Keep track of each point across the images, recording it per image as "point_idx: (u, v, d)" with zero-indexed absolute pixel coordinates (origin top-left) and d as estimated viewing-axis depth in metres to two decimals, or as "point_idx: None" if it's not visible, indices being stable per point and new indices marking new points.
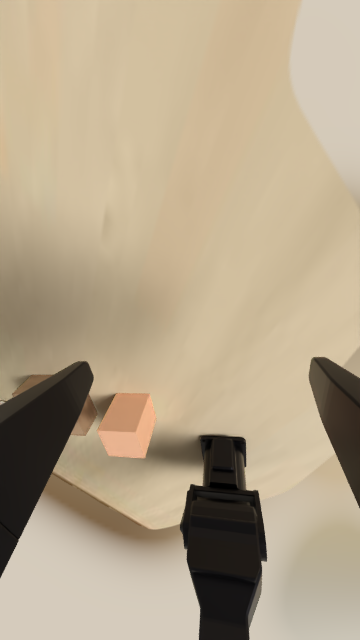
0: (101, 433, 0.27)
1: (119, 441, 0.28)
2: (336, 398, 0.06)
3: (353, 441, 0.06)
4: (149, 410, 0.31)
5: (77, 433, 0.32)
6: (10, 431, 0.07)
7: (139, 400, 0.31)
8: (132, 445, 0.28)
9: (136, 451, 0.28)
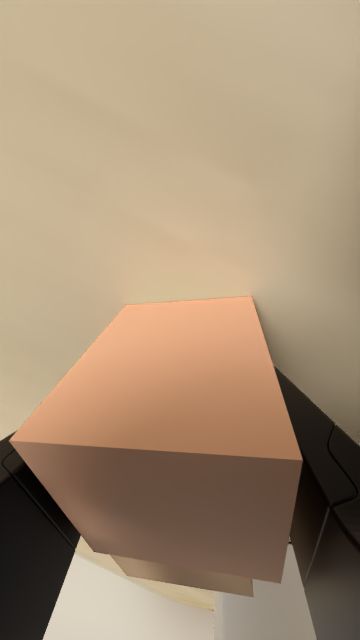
0: (104, 548, 0.06)
1: (138, 520, 0.05)
2: None
3: None
4: (157, 318, 0.08)
5: None
6: None
7: None
8: (147, 484, 0.04)
9: (206, 479, 0.04)
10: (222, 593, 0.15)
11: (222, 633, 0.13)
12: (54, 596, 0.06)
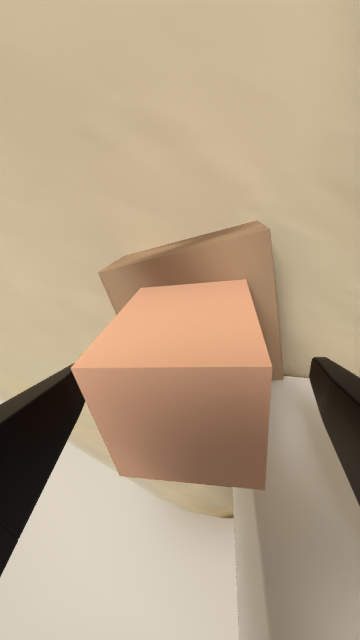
0: (129, 470, 0.08)
1: (158, 436, 0.07)
2: (337, 398, 0.06)
3: (354, 441, 0.06)
4: (169, 296, 0.10)
5: (261, 258, 0.10)
6: (10, 431, 0.07)
7: None
8: (168, 398, 0.06)
9: (209, 390, 0.06)
10: None
11: None
12: None
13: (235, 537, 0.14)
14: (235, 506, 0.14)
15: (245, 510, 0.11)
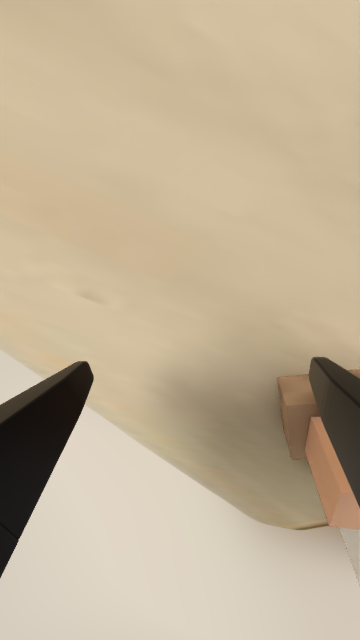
0: (337, 524, 0.17)
1: None
2: (336, 398, 0.06)
3: (353, 441, 0.06)
4: None
5: None
6: (10, 431, 0.07)
7: (314, 437, 0.20)
8: None
9: None
10: None
11: None
12: None
13: (348, 549, 0.23)
14: (344, 529, 0.24)
15: None
